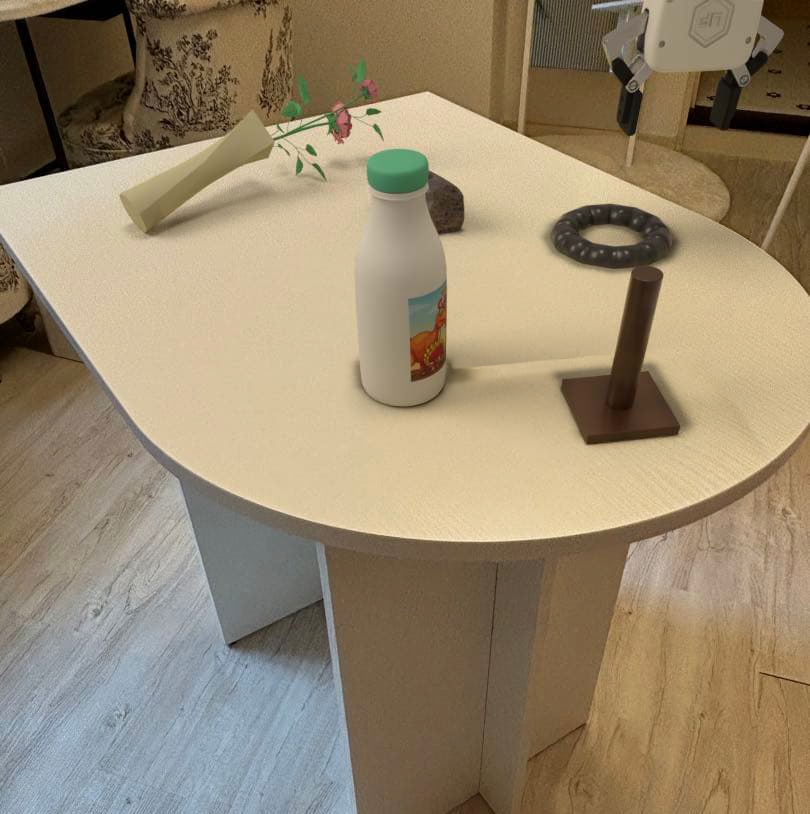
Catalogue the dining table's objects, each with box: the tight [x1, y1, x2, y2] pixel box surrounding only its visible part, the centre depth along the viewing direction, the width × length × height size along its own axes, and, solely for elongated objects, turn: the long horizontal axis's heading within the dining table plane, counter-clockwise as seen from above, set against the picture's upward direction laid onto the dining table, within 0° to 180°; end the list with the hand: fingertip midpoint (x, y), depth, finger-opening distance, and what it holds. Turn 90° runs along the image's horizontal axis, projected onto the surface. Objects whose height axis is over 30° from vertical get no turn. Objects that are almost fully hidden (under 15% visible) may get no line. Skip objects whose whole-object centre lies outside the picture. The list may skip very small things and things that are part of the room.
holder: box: [560, 265, 681, 445], centre depth 65 cm, size 8×8×13 cm
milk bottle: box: [353, 148, 448, 407], centre depth 66 cm, size 8×8×20 cm
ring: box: [549, 203, 674, 270], centre depth 88 cm, size 13×13×3 cm
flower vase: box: [118, 58, 385, 234], centre depth 99 cm, size 12×12×35 cm
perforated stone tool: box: [425, 170, 465, 235], centre depth 92 cm, size 15×5×7 cm, turn 36°
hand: (672, 128), depth 80 cm, fingers open, 9 cm apart
